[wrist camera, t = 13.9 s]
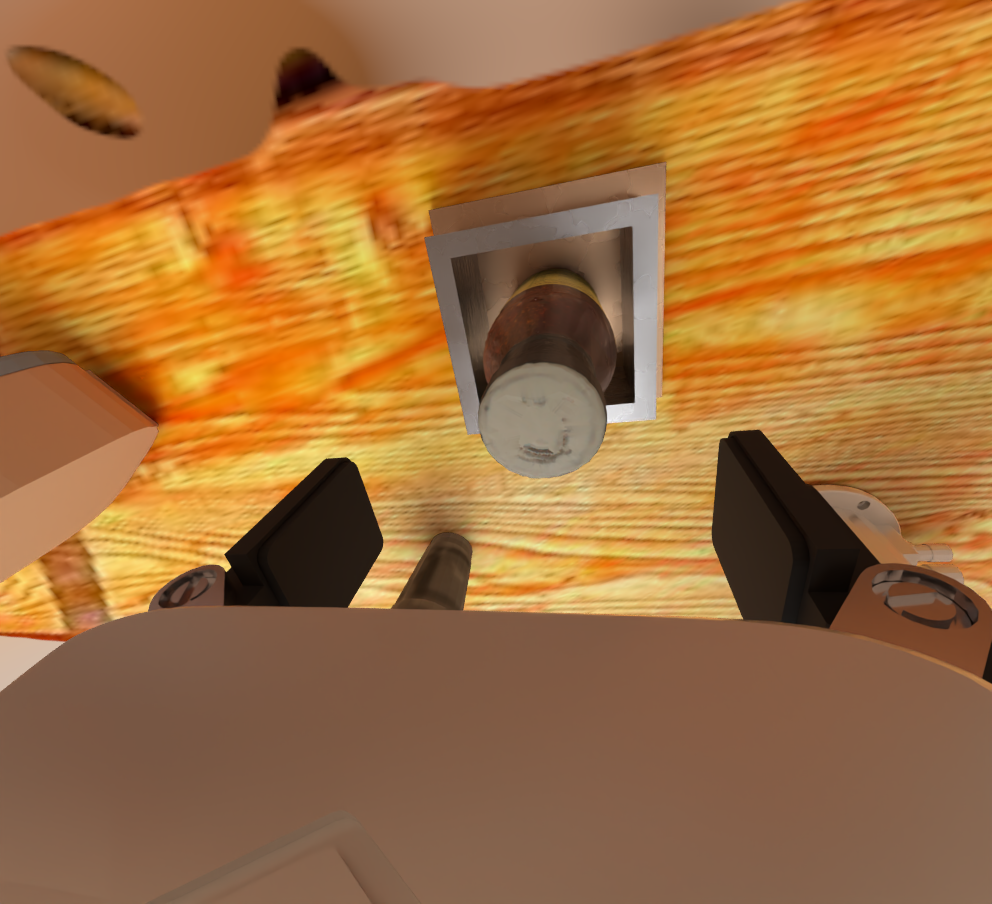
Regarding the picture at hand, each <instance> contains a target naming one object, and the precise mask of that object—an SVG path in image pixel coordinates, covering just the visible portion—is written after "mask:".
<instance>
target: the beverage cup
mask: <svg viewBox="0 0 992 904" xmlns="http://www.w3.org/2000/svg"><path fill="white" fill-rule="evenodd" d="M471 556H472V547H471V545H470V544H469V542H468V541H467V540H466V539H465V538H464V537H462V536H460V535H458V534H454V533H441V534H438V535H437V536H435V537H434V538H433V540H432V541H431V544H430V545H429V546H428V548H427V549H426V551H425V552H424V554H423V556H422V557H421V559H420V561H419V563H418V564H417V566H416V568H415V570H414V571H413V573H412V575H411V577H410V578H409V580H408V582H407V584H406V585H405V587H404V589H403V591H402V592H401V594H400V596H399V598H398V599H397V601H396V603H395V604H394V605H393V606H392V608H391V609H421V610H463V608H464V602H465V597H466V591H467V585H468V579H469V573H470V568H471V558H472V557H471Z"/></svg>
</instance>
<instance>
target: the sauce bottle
mask: <svg viewBox="0 0 992 904" xmlns="http://www.w3.org/2000/svg"><path fill="white" fill-rule="evenodd" d="M483 363H484V371H485V376H486V380H487V382H488V385H487V387H486V389H485V391H484V393H483V395H482V398H481V401H480V405H479V409H478V427H479V431H480V434H481V438H482V441H483V442H484V444H485V446H486V448H487V450H488V452H489V453H490V454H491V455H492V456H493V458H494V459H495V460H496V461H497V462H498V463H500V464H501V465H503V466H504V467H505V468H507V469H508V470H509V471H512V472H514V473H517V474H519V475H522V476H526V477H529V478H551V477H557V476H562V475H565V474H568V473H570V472H573V471H575V470H577V469H579V468H580V467H581V466H582V465H584V464H586V463H587V462H589V461H590V460H591V458H592V457H593V456H594V455H595V454H596V453H597V451H598V449H599V448H600V445H601V443H602V441H603V438H604V435H605V431H606V425H607V410H606V401H605V398H604V394H603V393H604V391H605V390H606V388H607V387H608V385H609V383H610V381H611V379H612V376H613V373H614V369H615V364H616V341H615V337H614V332H613V329H612V327H611V324H610V322H609V320H608V318H607V316H606V314H605V312H604V310H603V308H602V306H601V304H600V302H599V300H598V297H597V295H596V293H595V291H594V290H593V288H592V287H591V286H590V285H589V283H588V282H587V281H586V280H585V279H583V278H582V277H581V276H579V275H578V274H576V273H574V272H571V271H569V270H566V269H549V270H544V271H541V272H538V273H536V274H534V275H532V276H531V277H529V278H528V279H527V280H525V281H524V282H523V283H522V284H521V285H520V286H519V287H518V288H517V290H516V291H515V292H514V294H513V295H512V296H511V298H510V299H509V300H508V301H507V303H506V304H505V305H504V307H503V308H502V309H501V311H500V313H499V315H498V316H497V318H496V319H495V321H494V323H493V324H492V327H491V329H490V330H489V332H488V336H487V340H486V342H485V348H484V354H483Z"/></svg>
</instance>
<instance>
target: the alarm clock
mask: <svg viewBox="0 0 992 904" xmlns="http://www.w3.org/2000/svg"><path fill="white" fill-rule="evenodd" d="M157 426H158V424H157V423H156V422H155V421H153V420H152V419H151V418H150V417H148V416H147V415H146V414H144V413H143V412H142V411H141V410H139V409H138V408H137V407H136V406H134V405H133V404H132V403H131V402H129V401H128V400H127V399H125V398H124V397H123V396H122V395H120V394H119V393H118V392H117V391H115V390H114V389H113V388H112V387H110V386H109V385H108V384H107V383H105V382H104V381H103V380H101V379H100V378H99V377H98V376H96V375H95V374H94V373H93V372H91V371H90V370H86V371H84V370H83V369H82V368H80V367H79V366H78V365H77V364H75V363H74V362H73V361H72V360H70V359H69V358H68V357H67V356H65V355H63V354H61V353H57V352H52V351H29V352H21V353H17V354H12V355H7V356H2V357H0V583H1V582H3V581H4V580H6V579H7V578H9V577H10V576H12V575H13V574H15V573H17V572H18V571H20V570H21V569H23V568H24V567H26V566H27V565H29V564H30V563H32V562H33V561H35V560H37V559H38V558H40V557H41V556H43V555H44V554H46V553H47V552H49V551H50V550H52V549H53V548H55V547H56V546H58V545H59V544H61V543H62V542H64V541H65V540H67V539H68V538H70V537H71V536H72V535H74V534H75V533H77V532H78V531H79V530H81V529H82V528H83V527H85V526H86V525H87V524H88V523H90V522H91V521H92V520H93V519H95V518H96V517H97V516H98V515H99V514H100V513H101V512H103V511H104V510H105V509H106V508H107V507H108V506H109V505H110V504H111V503H112V502H113V500H114V499H115V498H116V497H117V496H118V494H119V493H120V492H121V491H122V489H123V488H124V487H125V485H126V484H127V482H128V481H129V479H130V478H131V476H132V475H133V473H134V472H135V470H136V469H137V467H138V466H139V464H140V463H141V461H142V460H143V458H144V457H145V455H146V454H147V452H148V451H149V449H150V448H151V446H152V444H153V442H154V440H155V438H156V436H157V433H158V430H157Z"/></svg>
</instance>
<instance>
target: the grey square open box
mask: <svg viewBox="0 0 992 904" xmlns="http://www.w3.org/2000/svg"><path fill="white" fill-rule="evenodd" d="M665 201H666V162H663V163H658V164H653V165H648V166H643V167H638V168H634V169H629V170H624V171H619V172H614V173H609V174H604V175H599V176H595V177H590V178H585V179H580V180H575V181H570V182H565V183H560V184H555V185H551V186H546V187H541V188H536V189H531V190H526V191H521V192H516V193H511V194H507V195H502V196H497V197H492V198H487V199H482V200H477V201H472V202H468V203H463V204H458V205H453V206H448V207H443V208H438V209H433V210H429V215H430V219H431V224H432V229H433V234H434V236H431V237H425V243H426V247H427V252H428V256H429V261H430V265H431V270H432V275H433V279H434V284H435V288H436V293H437V297H438V302H439V306H440V311H441V315H442V320H443V324H444V329H445V333H446V338H447V343H448V347H449V352H450V356H451V361H452V365H453V370H454V374H455V379H456V383H457V388H458V392H459V397H460V402H461V406H462V411H463V415H464V420H465V424H466V429H467V433H468V435H469V434H480V431H479V427H478V409H479V405H480V401H481V398H482V395H483V393H484V391H485V389H486V387H487V385H488V382H487V380H486V376H485V371H484V363H483V354H484V348H485V342H486V340H487V336H488V332H489V330H490V329H491V327H492V324H493V323H494V321H495V319H496V318H497V316H498V315H499V313H500V311H501V309H502V308H503V307H504V305H505V304H506V303H507V301H508V300H509V299H510V298H511V296H512V295H513V294H514V292H515V291H516V290H517V288H518V287H519V286H520V285H521V284H522V283H523V282H524V281H525V280H527V279H528V278H529V277H531V276H532V275H534V274H536V273H538V272H541V271H544V270H549V269H566V270H569V271H571V272H574V273H576V274H578V275H579V276H581V277H582V278H583V279H585V280H586V281H587V282H588V283H589V285H590V286H591V287H592V288H593V290H594V291H595V293H596V295H597V297H598V300H599V302H600V304H601V306H602V308H603V310H604V312H605V314H606V316H607V318H608V320H609V322H610V324H611V327H612V329H613V332H614V337H615V341H616V364H615V369H614V373H613V376H612V379H611V381H610V383H609V385H608V387H607V388H606V390H605V391H604V393H603V394H604V398H605V401H606V410H607V423H617V422H630V421H642V420H654V419H656V398H657V397H662V366H663V311H664V256H665Z"/></svg>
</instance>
